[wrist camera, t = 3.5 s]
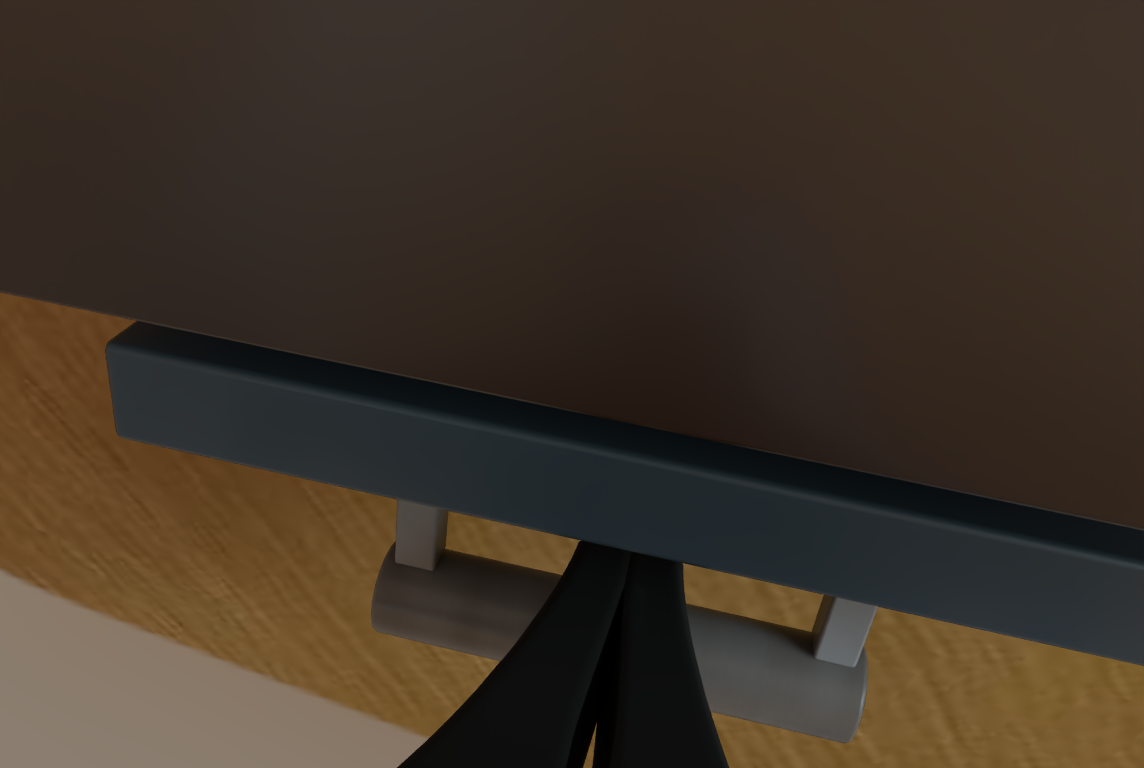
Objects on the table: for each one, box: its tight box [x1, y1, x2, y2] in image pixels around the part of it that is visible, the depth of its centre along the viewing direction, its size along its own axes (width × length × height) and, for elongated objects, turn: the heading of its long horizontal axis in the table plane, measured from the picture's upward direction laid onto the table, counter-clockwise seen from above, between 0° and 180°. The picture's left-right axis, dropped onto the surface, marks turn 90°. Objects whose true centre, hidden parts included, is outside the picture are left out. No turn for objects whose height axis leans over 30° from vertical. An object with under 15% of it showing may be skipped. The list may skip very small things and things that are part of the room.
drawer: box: [105, 321, 1144, 743], centre depth 10 cm, size 18×11×6 cm, turn 173°
